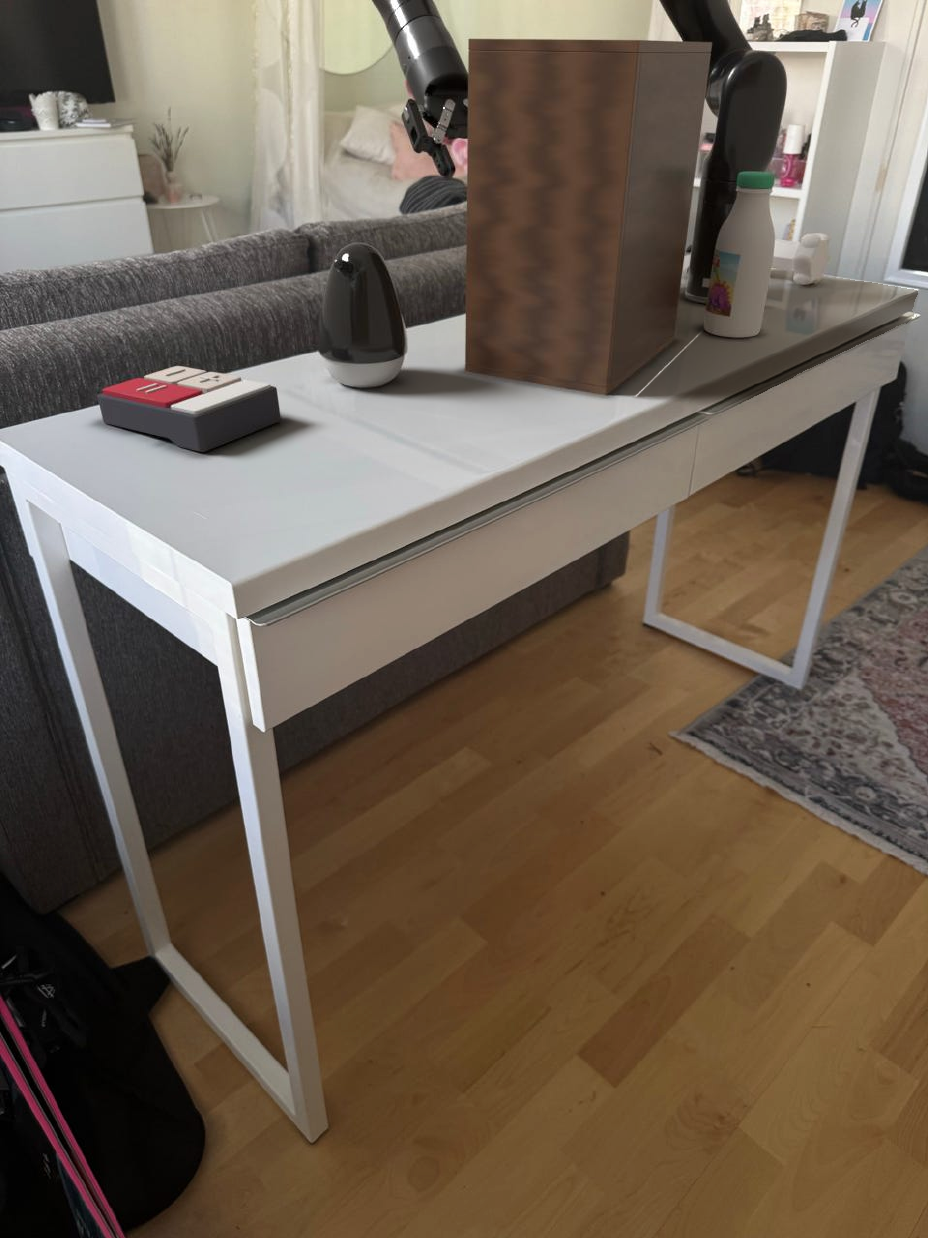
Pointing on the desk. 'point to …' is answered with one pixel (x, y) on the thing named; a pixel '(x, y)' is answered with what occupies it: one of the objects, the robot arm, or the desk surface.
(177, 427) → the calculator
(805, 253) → the white bone
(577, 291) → the cabinet
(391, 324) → the black egg-shaped piece
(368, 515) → the desk surface
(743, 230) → the milk bottle
